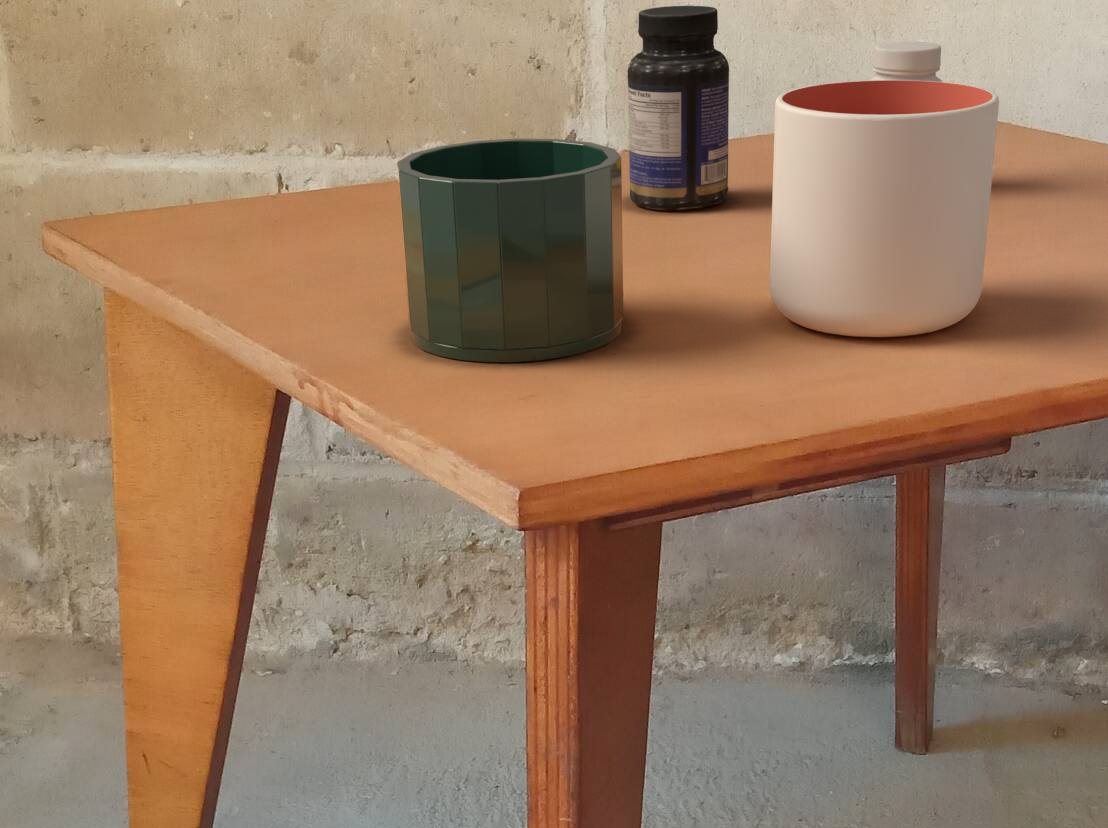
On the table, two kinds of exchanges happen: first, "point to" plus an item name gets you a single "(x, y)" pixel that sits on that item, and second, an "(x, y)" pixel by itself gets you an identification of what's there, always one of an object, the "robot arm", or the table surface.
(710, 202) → the pill bottle
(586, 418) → the table surface
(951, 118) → the cup
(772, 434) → the table surface
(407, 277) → the green cup
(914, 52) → the supplement bottle
